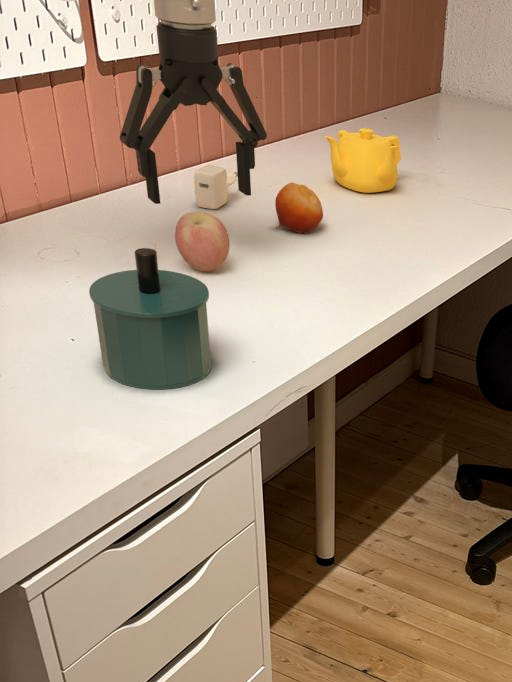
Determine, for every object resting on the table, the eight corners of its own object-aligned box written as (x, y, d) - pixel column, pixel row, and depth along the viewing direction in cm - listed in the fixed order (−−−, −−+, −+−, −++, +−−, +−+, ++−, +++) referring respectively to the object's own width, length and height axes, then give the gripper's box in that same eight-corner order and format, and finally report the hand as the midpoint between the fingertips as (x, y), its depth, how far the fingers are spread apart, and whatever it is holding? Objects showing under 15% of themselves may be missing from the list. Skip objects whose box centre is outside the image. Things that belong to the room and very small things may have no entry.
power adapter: (218, 190, 172) (216, 155, 168) (244, 194, 172) (242, 159, 168) (192, 207, 164) (189, 170, 160) (218, 212, 163) (216, 175, 160)
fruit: (274, 207, 164) (297, 168, 159) (312, 238, 166) (335, 201, 161) (257, 220, 158) (280, 181, 153) (296, 253, 160) (320, 215, 155)
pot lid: (74, 285, 114) (66, 237, 110) (183, 272, 120) (178, 226, 117) (114, 329, 106) (107, 279, 102) (228, 313, 112) (225, 265, 109)
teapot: (323, 191, 179) (323, 133, 172) (335, 171, 189) (336, 116, 182) (396, 201, 179) (398, 143, 172) (404, 181, 189) (407, 126, 183)
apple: (166, 266, 143) (161, 210, 138) (208, 256, 148) (204, 202, 143) (200, 283, 139) (196, 226, 134) (242, 272, 144) (239, 217, 139)
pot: (89, 353, 119) (78, 281, 113) (187, 338, 125) (180, 269, 119) (126, 397, 112) (115, 322, 106) (227, 378, 118) (223, 307, 112)
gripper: (98, 29, 115) (123, 213, 129) (287, 29, 127) (291, 197, 141) (78, 16, 119) (104, 195, 133) (262, 18, 131) (268, 182, 145)
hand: (200, 197), depth 137 cm, fingers open, 13 cm apart
